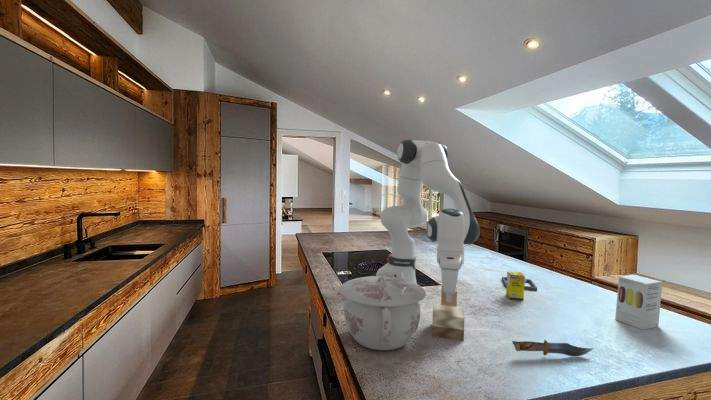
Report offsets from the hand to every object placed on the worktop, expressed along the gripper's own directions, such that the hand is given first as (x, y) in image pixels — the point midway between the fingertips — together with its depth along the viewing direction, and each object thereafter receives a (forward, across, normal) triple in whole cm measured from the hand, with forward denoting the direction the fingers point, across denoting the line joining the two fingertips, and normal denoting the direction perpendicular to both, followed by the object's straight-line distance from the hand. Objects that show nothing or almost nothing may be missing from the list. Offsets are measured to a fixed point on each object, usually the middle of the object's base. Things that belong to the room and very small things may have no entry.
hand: (448, 297), depth 112 cm
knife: (+12, +6, +30) cm, 33 cm away
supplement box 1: (+12, -44, +28) cm, 54 cm away
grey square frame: (+12, -64, +33) cm, 73 cm away
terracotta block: (+2, 0, 0) cm, 2 cm away
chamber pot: (+12, +13, -21) cm, 27 cm away
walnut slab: (+12, 0, 0) cm, 12 cm away
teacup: (+12, -63, +32) cm, 72 cm away
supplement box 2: (+12, -30, +67) cm, 74 cm away
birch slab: (+8, 0, 0) cm, 8 cm away
